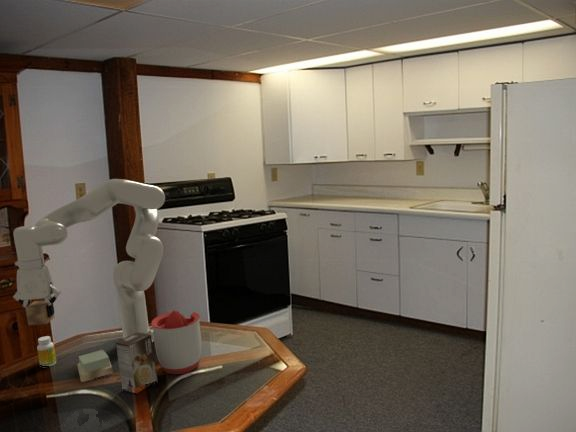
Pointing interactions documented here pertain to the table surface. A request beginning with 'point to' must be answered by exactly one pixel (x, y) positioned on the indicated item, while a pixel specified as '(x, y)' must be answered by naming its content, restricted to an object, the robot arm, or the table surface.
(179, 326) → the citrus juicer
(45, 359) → the supplement bottle
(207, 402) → the table surface
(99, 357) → the sage top block
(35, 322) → the walnut cube
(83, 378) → the birch base block
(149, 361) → the coffee box
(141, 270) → the robot arm
